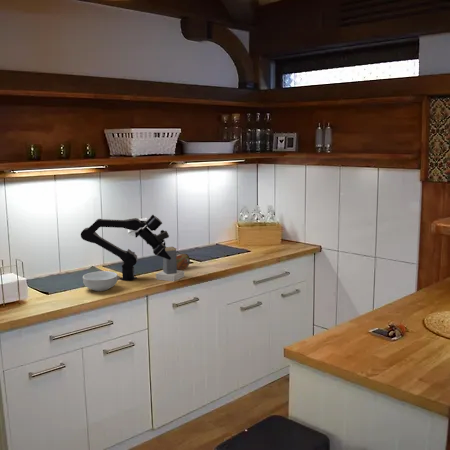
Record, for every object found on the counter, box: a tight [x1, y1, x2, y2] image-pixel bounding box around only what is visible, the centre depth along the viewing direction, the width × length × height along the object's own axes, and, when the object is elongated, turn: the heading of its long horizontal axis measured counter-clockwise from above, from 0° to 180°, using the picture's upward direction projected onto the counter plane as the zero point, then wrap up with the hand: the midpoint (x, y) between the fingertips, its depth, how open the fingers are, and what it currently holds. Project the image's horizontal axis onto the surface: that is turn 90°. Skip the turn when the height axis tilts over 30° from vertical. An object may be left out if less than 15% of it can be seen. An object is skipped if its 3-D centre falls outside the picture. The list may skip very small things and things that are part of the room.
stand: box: [155, 270, 185, 282], centre depth 292 cm, size 11×11×3 cm
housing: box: [162, 246, 178, 274], centre depth 290 cm, size 6×6×13 cm
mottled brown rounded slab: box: [176, 253, 191, 271], centre depth 310 cm, size 15×3×8 cm, turn 143°
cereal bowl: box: [82, 270, 118, 292], centre depth 271 cm, size 17×17×7 cm
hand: (170, 257), depth 290 cm, fingers open, 9 cm apart
